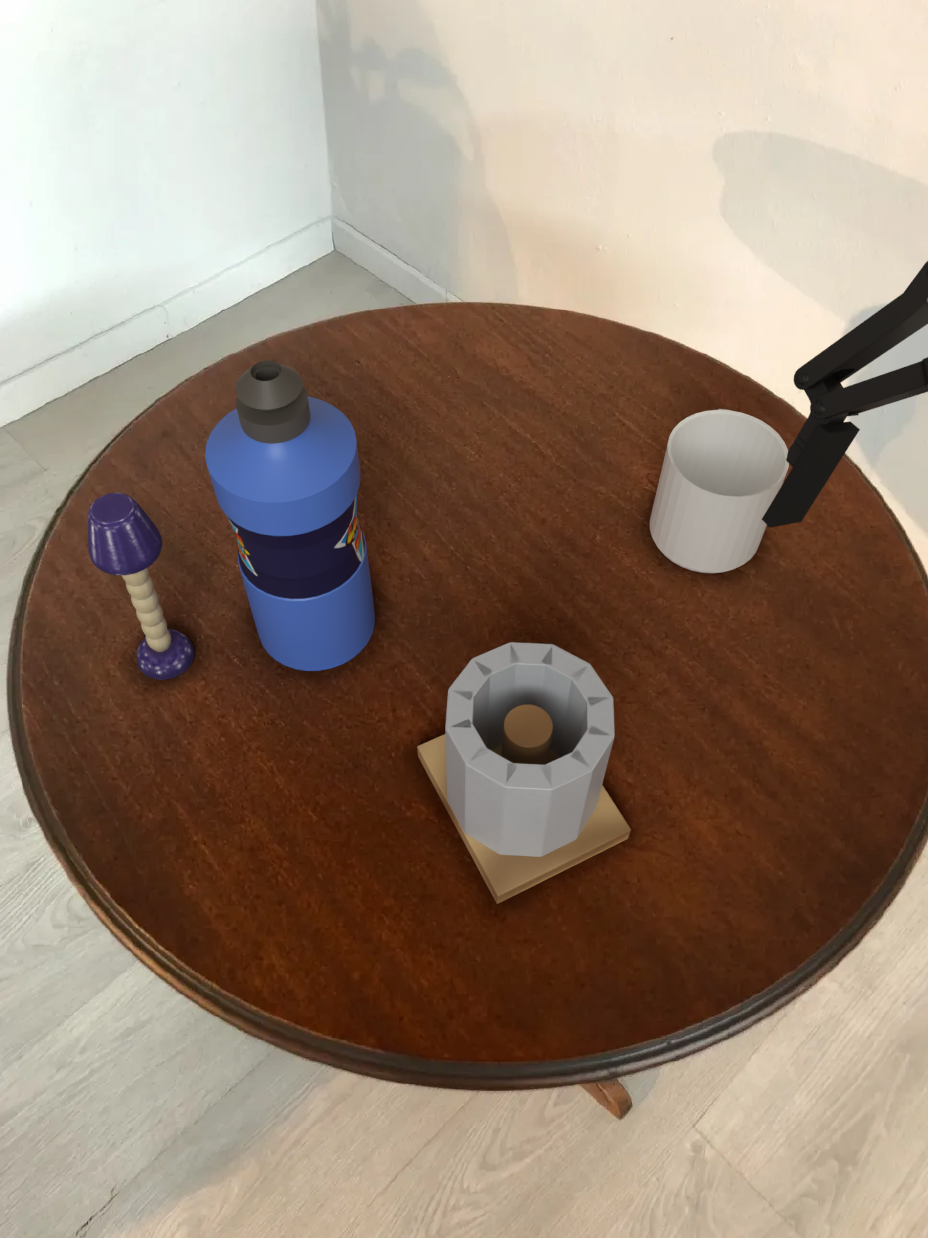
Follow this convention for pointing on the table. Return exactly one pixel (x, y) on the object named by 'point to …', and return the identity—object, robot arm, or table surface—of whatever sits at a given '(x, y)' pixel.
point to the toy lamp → (137, 579)
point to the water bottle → (295, 518)
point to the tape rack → (527, 745)
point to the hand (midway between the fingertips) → (863, 601)
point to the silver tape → (526, 793)
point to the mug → (716, 489)
